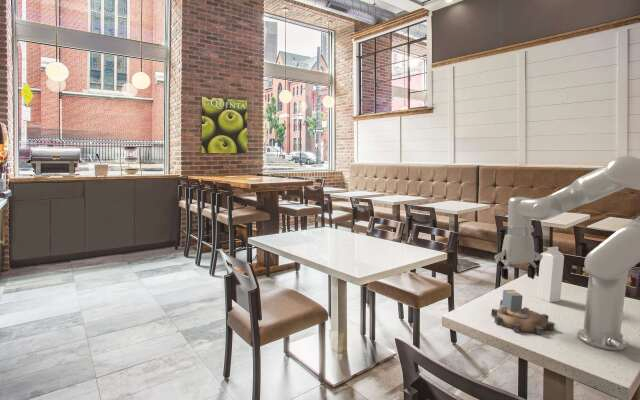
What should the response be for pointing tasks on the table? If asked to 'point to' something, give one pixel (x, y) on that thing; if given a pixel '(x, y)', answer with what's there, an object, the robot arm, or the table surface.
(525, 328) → the sprocket
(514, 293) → the link block
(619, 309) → the robot arm
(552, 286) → the milk
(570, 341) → the table surface
